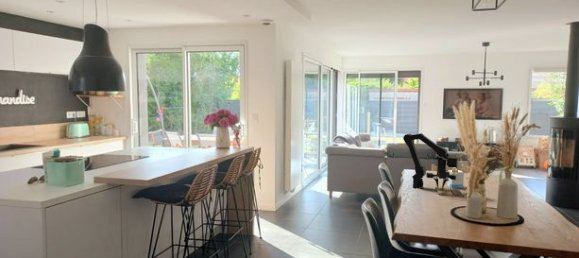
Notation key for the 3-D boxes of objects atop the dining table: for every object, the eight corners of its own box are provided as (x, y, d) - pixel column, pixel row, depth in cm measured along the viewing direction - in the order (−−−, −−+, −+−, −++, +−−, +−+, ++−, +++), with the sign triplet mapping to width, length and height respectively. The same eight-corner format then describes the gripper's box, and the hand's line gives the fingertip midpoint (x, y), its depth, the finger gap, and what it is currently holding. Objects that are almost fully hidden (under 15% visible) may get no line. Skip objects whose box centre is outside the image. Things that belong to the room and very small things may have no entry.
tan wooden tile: (454, 196, 265) (454, 194, 265) (449, 189, 283) (449, 188, 283) (463, 196, 264) (463, 195, 264) (458, 190, 282) (458, 188, 281)
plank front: (438, 194, 267) (438, 192, 267) (437, 192, 274) (437, 190, 274) (452, 195, 265) (453, 193, 265) (451, 193, 272) (451, 191, 272)
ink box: (463, 188, 288) (464, 169, 287) (451, 188, 288) (452, 169, 287) (458, 185, 297) (459, 167, 295) (447, 185, 297) (448, 167, 296)
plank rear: (436, 191, 278) (436, 189, 277) (434, 188, 284) (434, 187, 284) (450, 192, 276) (450, 190, 276) (448, 189, 282) (448, 188, 282)
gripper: (428, 167, 273) (427, 190, 275) (458, 169, 270) (456, 192, 271) (426, 164, 284) (425, 186, 286) (455, 166, 280) (453, 188, 282)
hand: (440, 188), depth 281 cm, fingers closed on plank rear, 3 cm apart
